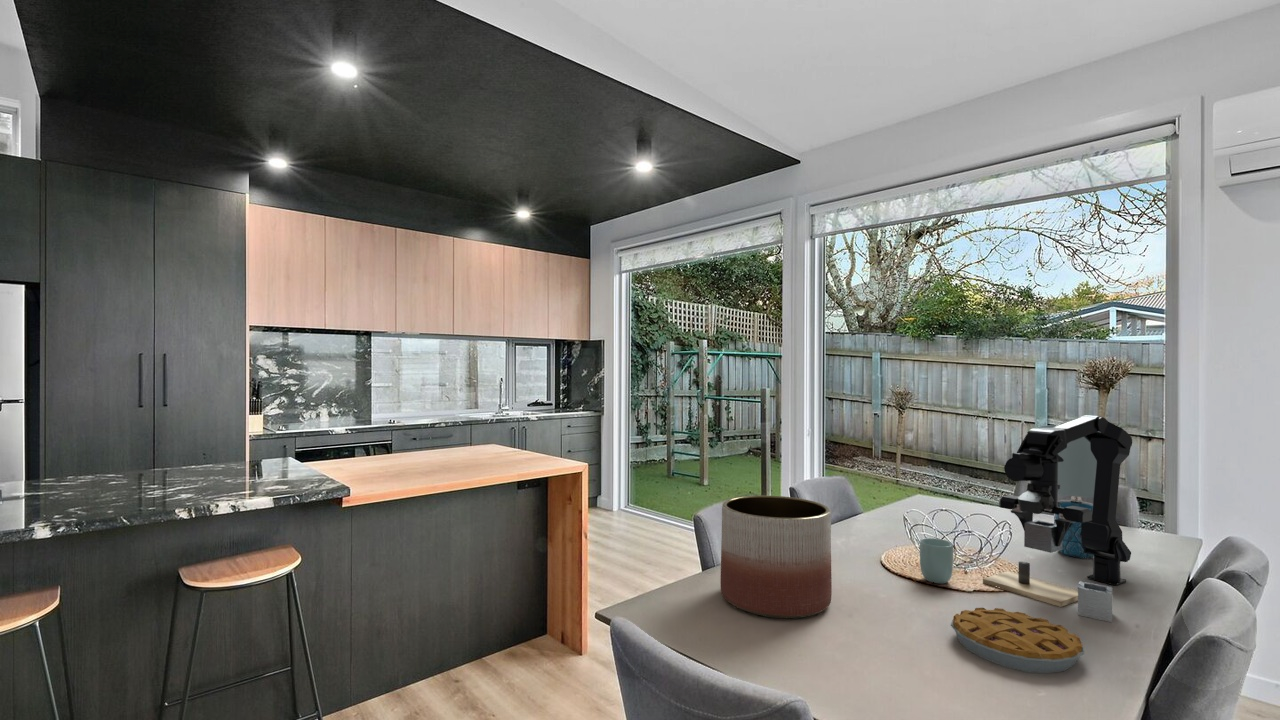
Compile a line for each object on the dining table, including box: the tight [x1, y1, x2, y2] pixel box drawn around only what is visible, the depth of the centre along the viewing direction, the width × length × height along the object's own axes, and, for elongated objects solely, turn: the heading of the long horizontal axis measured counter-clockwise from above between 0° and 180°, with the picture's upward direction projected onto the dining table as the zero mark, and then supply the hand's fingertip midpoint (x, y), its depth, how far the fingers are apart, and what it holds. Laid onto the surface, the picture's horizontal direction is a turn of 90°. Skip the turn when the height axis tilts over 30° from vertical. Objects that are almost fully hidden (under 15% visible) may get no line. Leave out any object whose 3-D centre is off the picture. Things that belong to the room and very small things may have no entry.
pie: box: [950, 607, 1085, 674], centre depth 118 cm, size 22×22×5 cm
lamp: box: [1037, 425, 1097, 559], centre depth 181 cm, size 19×19×38 cm
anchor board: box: [982, 560, 1078, 608], centre depth 150 cm, size 12×18×6 cm, turn 31°
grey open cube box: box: [1077, 580, 1113, 623], centre depth 136 cm, size 6×6×6 cm
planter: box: [720, 495, 833, 619], centre depth 142 cm, size 25×25×22 cm
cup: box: [919, 537, 954, 584], centre depth 156 cm, size 8×8×10 cm
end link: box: [1023, 519, 1063, 554], centre depth 150 cm, size 6×6×6 cm
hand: (1043, 543), depth 150 cm, fingers closed on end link, 6 cm apart
